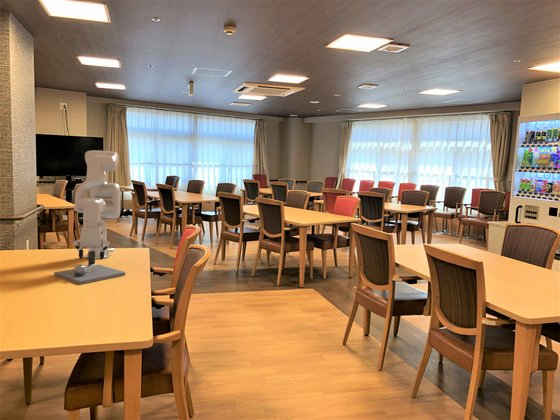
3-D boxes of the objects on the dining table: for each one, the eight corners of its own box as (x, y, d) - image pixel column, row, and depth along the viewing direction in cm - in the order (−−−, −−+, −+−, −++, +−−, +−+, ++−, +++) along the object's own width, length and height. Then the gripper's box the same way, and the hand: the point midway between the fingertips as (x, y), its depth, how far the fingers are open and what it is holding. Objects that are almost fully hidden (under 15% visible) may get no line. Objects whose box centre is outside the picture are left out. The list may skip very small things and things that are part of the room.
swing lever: (82, 275, 197) (83, 259, 197) (72, 275, 197) (72, 259, 196) (97, 265, 217) (97, 251, 216) (88, 265, 217) (88, 250, 216)
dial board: (98, 267, 222) (98, 264, 222) (125, 275, 209) (125, 271, 209) (54, 275, 203) (54, 271, 203) (80, 284, 190) (80, 280, 190)
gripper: (112, 224, 218) (111, 257, 219) (76, 223, 216) (76, 256, 218) (107, 226, 210) (107, 261, 212) (70, 225, 209) (70, 260, 210)
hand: (91, 258), depth 215 cm, fingers open, 9 cm apart
